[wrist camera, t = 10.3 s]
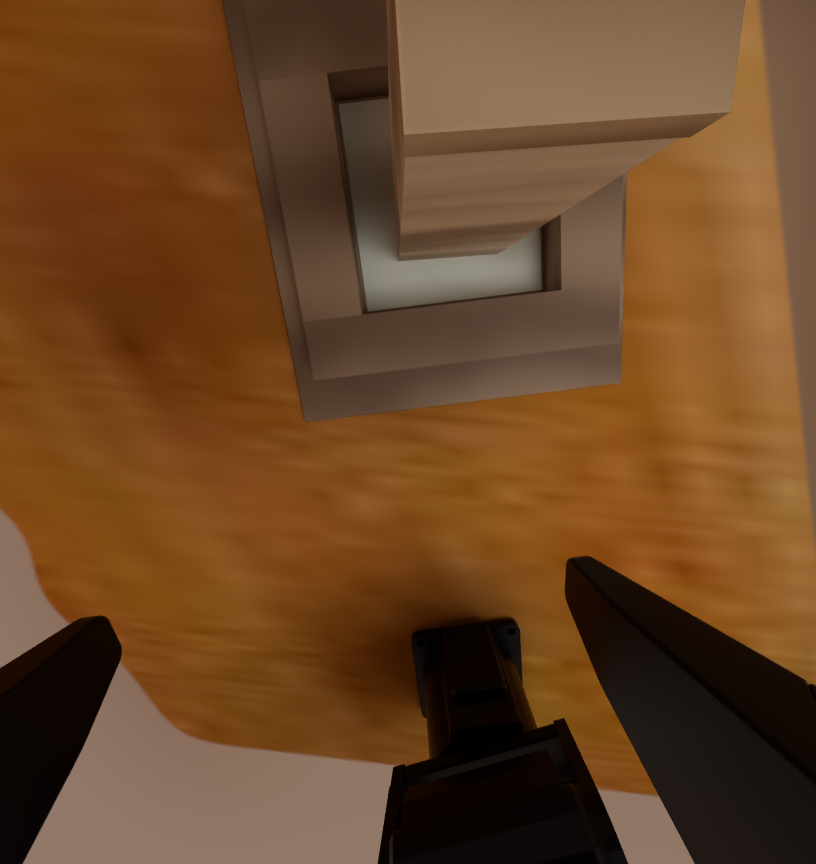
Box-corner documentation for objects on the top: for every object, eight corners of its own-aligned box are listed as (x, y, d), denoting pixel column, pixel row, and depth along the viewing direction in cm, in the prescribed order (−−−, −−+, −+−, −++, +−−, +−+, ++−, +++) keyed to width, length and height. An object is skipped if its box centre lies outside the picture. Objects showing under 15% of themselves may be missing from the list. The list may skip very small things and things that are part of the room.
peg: (498, 255, 18) (731, 111, 6) (397, 262, 18) (403, 134, 6) (497, 137, 17) (795, -389, 4) (389, 145, 17) (371, -365, 4)
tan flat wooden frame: (616, 381, 20) (644, 389, 18) (307, 419, 20) (295, 432, 18) (628, -77, 15) (669, -147, 13) (219, -26, 15) (189, -86, 13)
